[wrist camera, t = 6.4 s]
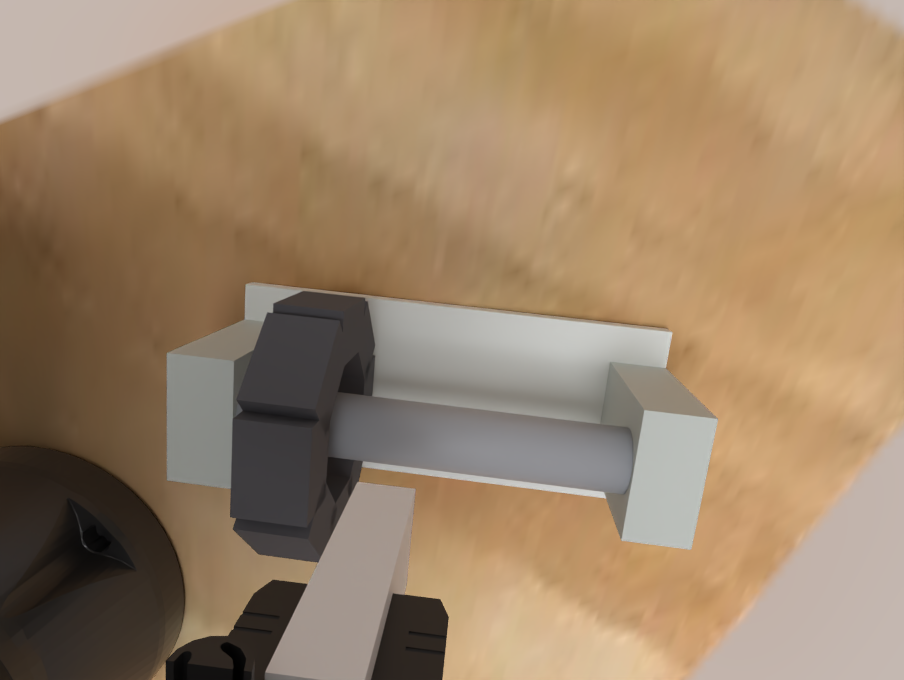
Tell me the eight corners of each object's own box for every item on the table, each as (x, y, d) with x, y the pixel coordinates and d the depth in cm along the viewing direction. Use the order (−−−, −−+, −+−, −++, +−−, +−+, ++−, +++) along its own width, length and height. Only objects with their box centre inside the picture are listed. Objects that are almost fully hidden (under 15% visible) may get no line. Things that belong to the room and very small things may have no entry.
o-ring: (314, 478, 28) (227, 603, 19) (325, 281, 26) (234, 319, 17) (365, 485, 28) (302, 613, 19) (380, 287, 26) (317, 329, 17)
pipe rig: (247, 445, 30) (166, 520, 23) (252, 282, 28) (166, 307, 21) (637, 495, 29) (683, 590, 22) (667, 328, 27) (727, 372, 20)
